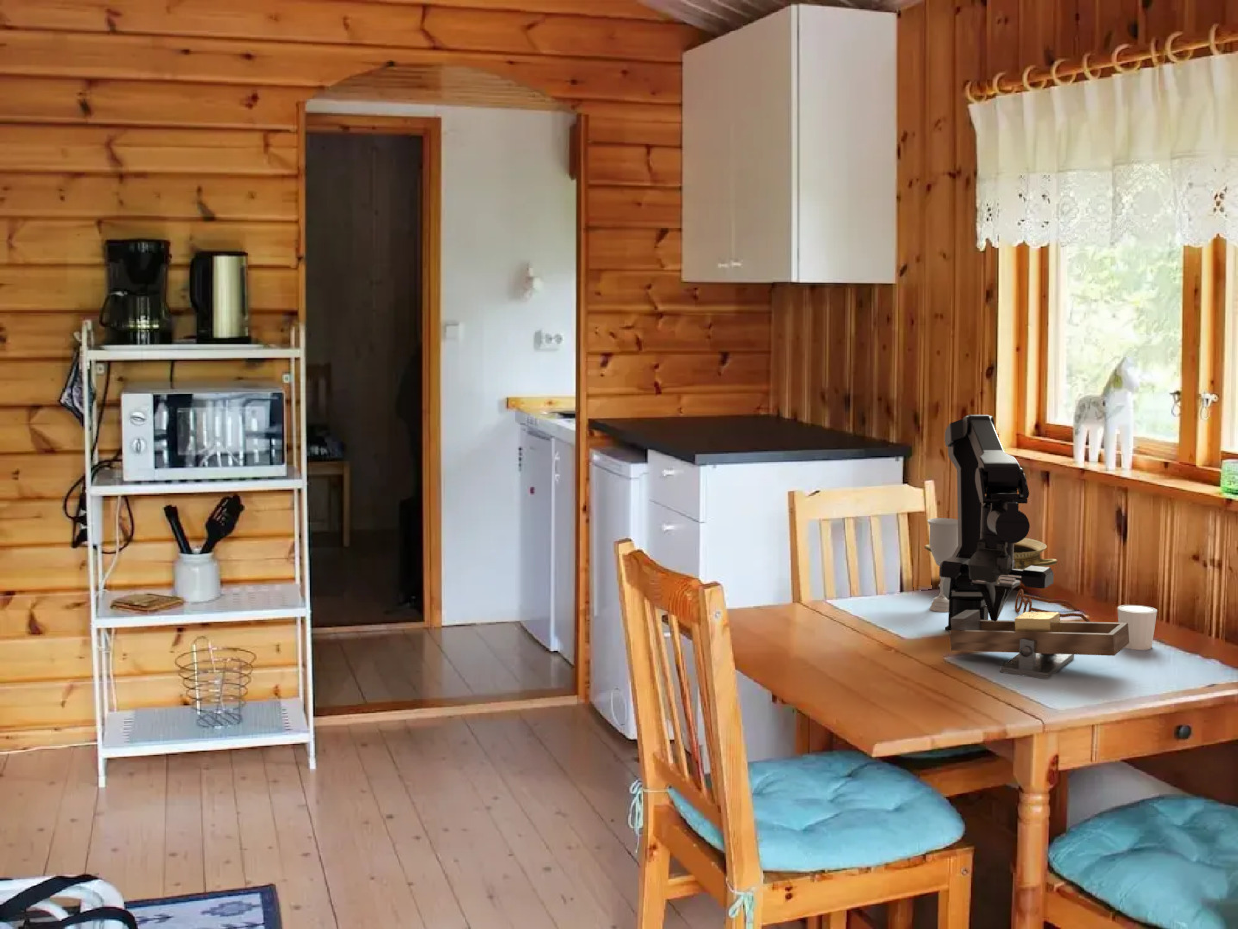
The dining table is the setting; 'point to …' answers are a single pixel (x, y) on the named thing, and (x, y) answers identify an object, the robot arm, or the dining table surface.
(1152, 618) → the white cup
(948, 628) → the robot arm
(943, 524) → the chalice
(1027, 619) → the brass block
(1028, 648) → the pivot stand
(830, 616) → the dining table surface
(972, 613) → the beam
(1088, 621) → the glasses
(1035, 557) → the ceramic bowl
